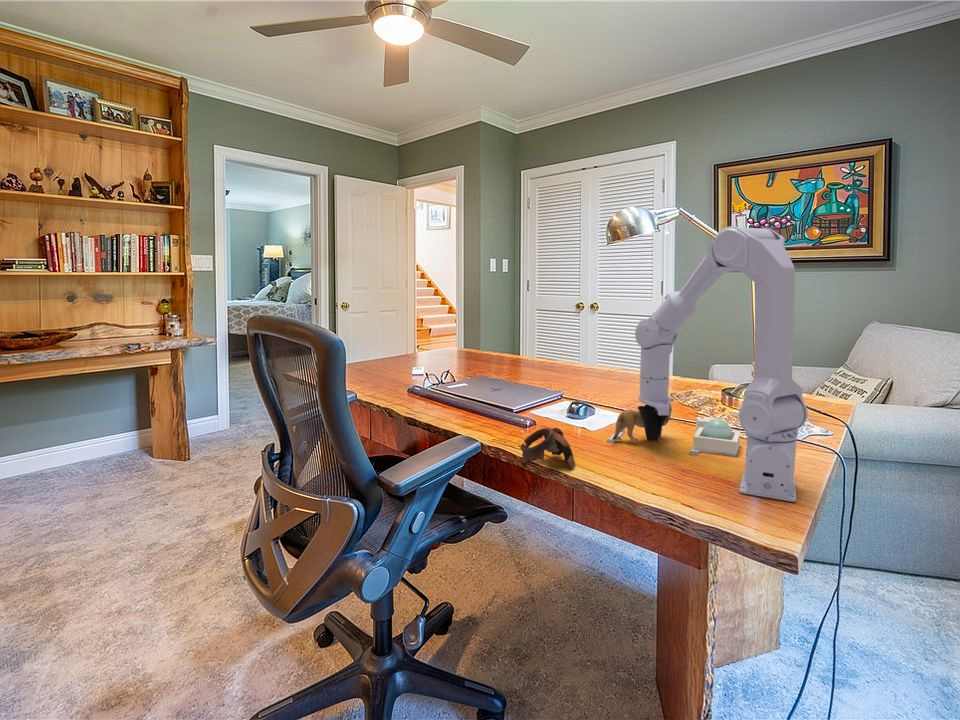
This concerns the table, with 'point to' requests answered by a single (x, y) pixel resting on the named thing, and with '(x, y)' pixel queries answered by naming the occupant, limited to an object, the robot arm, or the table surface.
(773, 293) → the robot arm
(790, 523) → the table surface
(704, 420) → the die
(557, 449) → the brown twisted loop
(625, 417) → the lion figurine
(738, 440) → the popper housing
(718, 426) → the dome plunger
